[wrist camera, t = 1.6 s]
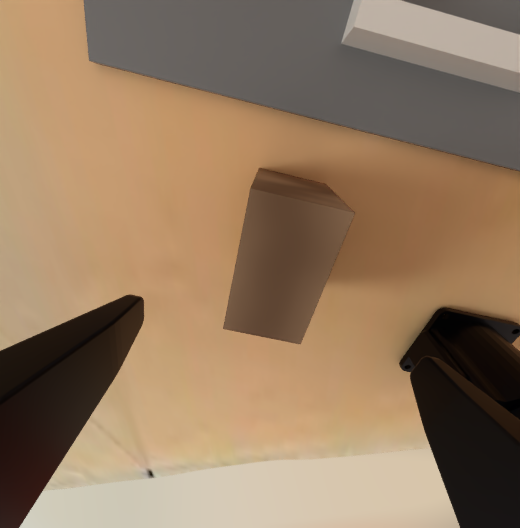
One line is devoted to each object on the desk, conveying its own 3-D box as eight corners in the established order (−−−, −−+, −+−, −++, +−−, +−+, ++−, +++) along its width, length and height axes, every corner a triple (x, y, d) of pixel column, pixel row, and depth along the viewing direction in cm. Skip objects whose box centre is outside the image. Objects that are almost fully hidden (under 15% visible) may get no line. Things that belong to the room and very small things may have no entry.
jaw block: (325, 183, 14) (355, 212, 9) (292, 281, 18) (300, 344, 12) (259, 167, 14) (250, 188, 9) (238, 269, 18) (223, 328, 12)
